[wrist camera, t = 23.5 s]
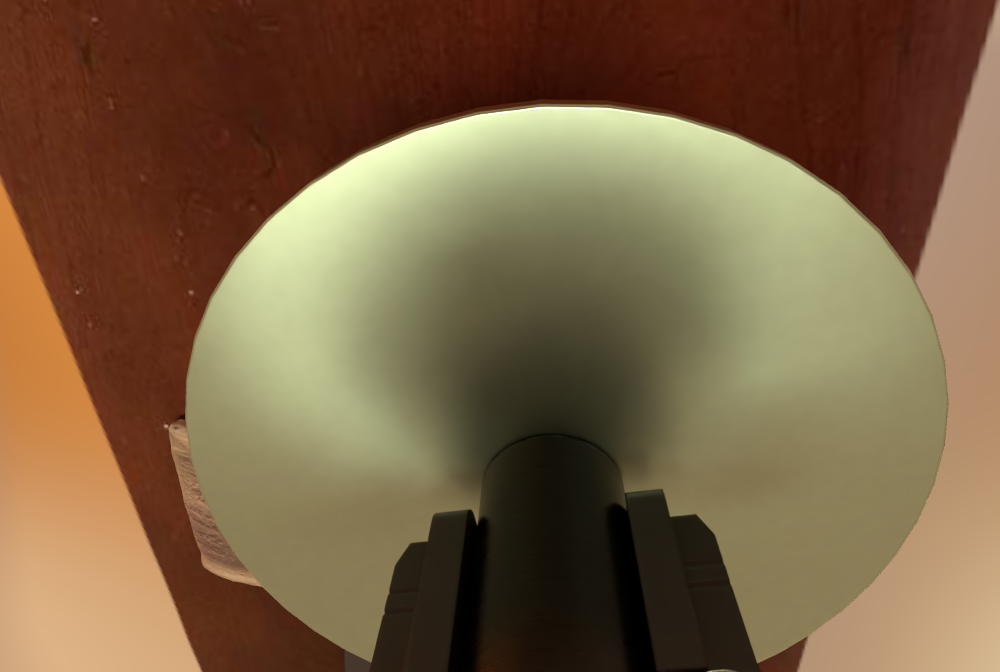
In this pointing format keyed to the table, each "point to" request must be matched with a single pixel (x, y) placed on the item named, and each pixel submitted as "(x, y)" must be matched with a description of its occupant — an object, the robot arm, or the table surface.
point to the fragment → (204, 514)
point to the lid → (566, 380)
